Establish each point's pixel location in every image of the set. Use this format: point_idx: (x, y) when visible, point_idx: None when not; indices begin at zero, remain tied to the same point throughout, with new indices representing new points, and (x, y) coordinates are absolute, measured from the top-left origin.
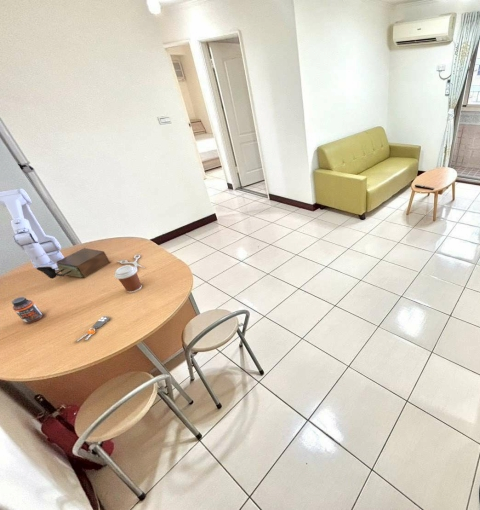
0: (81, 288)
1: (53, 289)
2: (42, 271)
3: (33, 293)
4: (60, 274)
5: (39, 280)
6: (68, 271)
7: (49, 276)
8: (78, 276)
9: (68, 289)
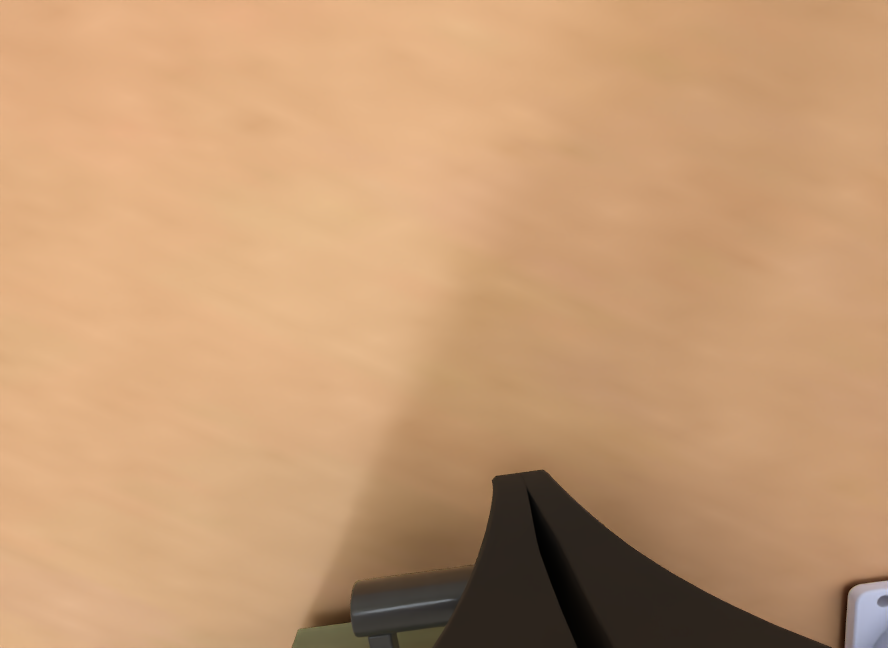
0: (56, 496)
1: (395, 330)
2: (622, 612)
3: (575, 146)
4: (398, 620)
5: (862, 363)
6: None
7: (505, 503)
8: (328, 637)
9: (192, 416)
